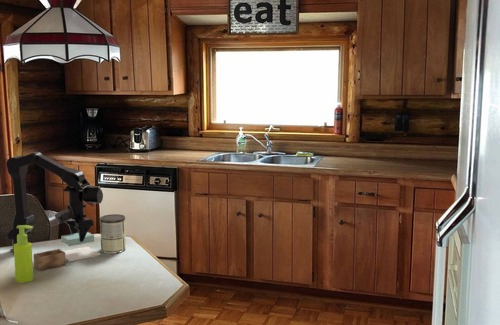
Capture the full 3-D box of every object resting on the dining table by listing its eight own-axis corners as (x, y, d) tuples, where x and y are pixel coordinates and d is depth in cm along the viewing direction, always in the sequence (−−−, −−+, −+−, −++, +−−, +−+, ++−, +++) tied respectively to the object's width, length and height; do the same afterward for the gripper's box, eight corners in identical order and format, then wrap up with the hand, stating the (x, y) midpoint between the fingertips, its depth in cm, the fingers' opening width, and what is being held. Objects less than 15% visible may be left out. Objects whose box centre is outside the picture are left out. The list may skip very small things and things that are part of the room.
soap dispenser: (30, 283, 195) (27, 228, 192) (12, 282, 196) (9, 227, 193) (39, 277, 201) (36, 224, 198) (21, 276, 202) (18, 223, 199)
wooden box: (39, 270, 208) (38, 257, 207) (34, 266, 212) (33, 253, 212) (65, 265, 214) (65, 252, 213) (59, 261, 219) (59, 248, 218)
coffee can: (96, 249, 234) (95, 216, 232) (119, 244, 240) (118, 212, 238) (107, 255, 226) (106, 221, 224) (130, 250, 233) (129, 217, 230)
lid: (68, 246, 220) (68, 240, 219) (61, 242, 225) (61, 235, 225) (94, 241, 227) (94, 235, 226) (86, 237, 232) (86, 231, 232)
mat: (57, 253, 227) (57, 252, 227) (87, 247, 235) (87, 246, 235) (68, 261, 218) (68, 260, 218) (99, 255, 226) (99, 253, 226)
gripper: (47, 200, 225) (49, 237, 228) (65, 209, 211) (67, 249, 214) (74, 197, 232) (75, 233, 235) (93, 205, 218) (94, 243, 221)
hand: (77, 239), depth 226 cm, fingers closed on lid, 7 cm apart
